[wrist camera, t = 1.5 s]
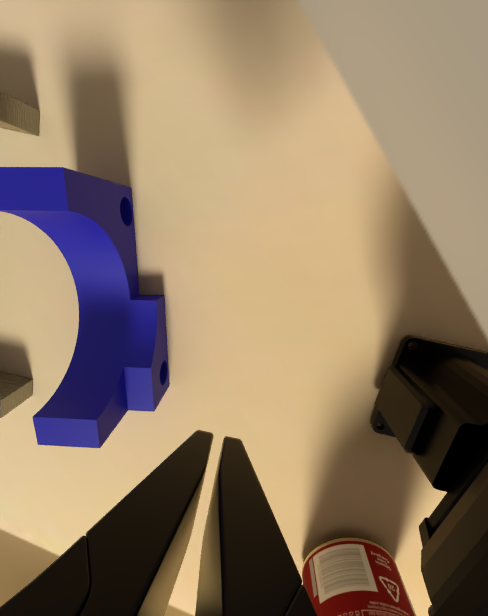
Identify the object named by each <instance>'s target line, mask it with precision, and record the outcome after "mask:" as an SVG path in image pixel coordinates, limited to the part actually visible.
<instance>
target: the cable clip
mask: <svg viewBox="0 0 488 616" xmlns="http://www.w3.org/2000/svg"><path fill="white" fill-rule="evenodd" d="M0 211H3V212H7V213H11V214H14V215H17V216H19V217H22V218H24V219H26V220H28V221H30V222H31V223H33V224H34V225H36V226H37V227H39V228H40V229H41V230H42V231H44V232H45V233H46V234H47V235H48V236H49V237H50V238H51V239H52V240H53V241H54V243H55V244H56V245H57V246H58V248H59V249H60V251H61V252H62V254H63V256H64V257H65V259H66V261H67V263H68V265H69V267H70V270H71V272H72V275H73V278H74V281H75V285H76V290H77V295H78V302H79V329H78V337H77V342H76V347H75V350H74V354H73V357H72V360H71V363H70V365H69V368H68V370H67V372H66V374H65V376H64V378H63V380H62V382H61V384H60V385H59V387H58V389H57V390H56V392H55V393H54V395H53V396H52V397H51V398H50V400H49V401H48V402H47V403H46V404H45V405H44V406H43V408H42V409H41V410H40V411H39V412H37V413H36V414H35V415H34V416H33V422H34V427H35V432H36V437H37V442H38V445H54V446H71V447H89V448H100V447H101V446H102V445H103V443H104V442H105V441H106V439H107V438H108V437H109V435H110V434H111V432H112V431H113V430H114V428H115V427H116V426H117V424H118V423H119V422H120V420H121V419H122V418H123V416H124V415H125V413H126V412H127V411H128V410H135V411H155V409H156V407H157V406H158V404H159V402H160V401H161V399H162V397H163V396H164V394H165V392H166V390H167V389H168V387H169V370H168V353H167V335H166V317H165V299H164V295H140V292H139V280H138V267H137V254H136V241H135V229H134V216H133V203H132V190H131V188H130V187H127V186H124V185H120V184H117V183H114V182H110V181H107V180H103V179H100V178H97V177H93V176H90V175H87V174H83V173H80V172H77V171H73V170H70V169H67V168H63V167H0Z"/></svg>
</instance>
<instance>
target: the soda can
mask: <svg viewBox="0 0 488 616" xmlns="http://www.w3.org/2000/svg"><path fill="white" fill-rule="evenodd" d="M302 578H303V585H304V586H305V588H306V590H307V592H308V595H309V597H310V599H311V602H312V604H313V606H314V609H315V611H316V613H317V615H318V616H416V614H415V611H414V609H413V606H412V604H411V601H410V599H409V596H408V593H407V591H406V588H405V586H404V583H403V581H402V578H401V576H400V573H399V571H398V568H397V566H396V563H395V561H394V559H393V558H392V556H391V555H390V554H389V553H388V552H387V551H386V550H385V549H384V548H382V547H381V546H379V545H378V544H376V543H374V542H371V541H369V540H365V539H360V538H350V537H348V538H338V539H333V540H330V541H327V542H325V543H323V544H321V545H319V546H318V547H316V548H315V549H314V550H312V551H311V552H310V554H309V555H308V556H307V558H306V559H305V562H304V564H303V568H302Z"/></svg>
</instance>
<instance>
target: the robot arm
mask: <svg viewBox="0 0 488 616" xmlns="http://www.w3.org/2000/svg"><path fill="white" fill-rule="evenodd" d="M411 342H414V345H413V346H412V347H408V345H409V343H411ZM375 404H376V408H375V411H374V414H373V416H372V419H371V422H370V424H371V426H372V428H373V430H374V431H375V432H377V433H380V434H384V435H389V436H393V437H396V438H397V439H398V441H399V442H400V444H401V446H402V447H403V449H404V450H405V452H406V453H409V454H412V455H413V457H414V458H415V460H416V461H417V463H418V464H419V466H420V468H421V469H422V471H423V472H424V474H425V475H426V477H427V478H428V480H429V481H430V483H431V484H432V486H433V487H434V488H435V489H437V490H442V491H446V492H447V494H446V495H445V496H444V498H443V499H442V500H441V502H440V503H439V505H438V506H437V507H436V509H435V510H434V511H433V513H432V514H431V515H430V517H429V518H425V519H424V520H423V521H422V523H421V524H420V525H419V531H420V536H421V541H422V546H423V549H422V550H421V572H422V575H423V578H424V582H425V585H426V588H427V591H428V595H429V598H430V601H431V603H432V605H431V606H430V607H429V609H428V614H429V616H488V352H484V351H480V350H475V349H471V348H466V347H462V346H457V345H453V344H448V343H444V342H440V341H435V340H431V339H426V338H422V337H417V336H413V335H409V336H406V337H404V338H403V339H402V341H401V343H400V346H399V348H398V351H397V354H396V356H395V359H394V361H393V364H392V366H391V367H390V368H389V369H388V370H387V373H386V375H385V378H384V381H383V383H382V386H381V389H380V391H379V394H378V397H377V399H376V402H375ZM379 423H382V425H380V426H377V425H378V424H379ZM212 441H213V434H212V433H210V432H206V431H201V430H197V431H196V432H195V433H194V434H192V435H191V436H190V437H189V438H188V439H187V440H186V441H185V442H184V443H183V444H182V445H181V446H179V447H178V448H177V449H176V450H175V451H174V452H173V453H172V454H171V455H170V456H169V457H168V458H167V459H165V460H164V461H163V462H162V463H161V464H160V465H159V466H158V467H157V468H156V469H155V470H154V471H152V472H151V473H150V474H149V475H148V476H147V477H146V478H145V479H144V480H143V481H142V482H141V483H139V484H138V485H137V486H136V487H135V488H134V489H133V490H132V491H131V492H130V493H129V494H128V495H126V496H125V497H124V498H123V499H122V500H121V501H120V502H119V503H118V504H117V505H116V506H115V507H113V508H112V509H111V510H110V511H109V512H108V513H107V514H106V515H105V516H104V517H103V518H102V519H100V520H99V521H98V522H97V523H96V524H95V525H94V526H93V527H92V528H91V529H90V530H89V531H88V532H87V533H86V536H82V537H81V538H80V539H79V540H77V541H76V542H75V543H74V544H73V545H72V546H71V547H70V548H69V549H68V550H67V551H66V552H65V553H63V554H62V555H61V556H60V557H59V558H58V559H57V560H56V561H54V562H53V563H52V564H51V565H50V566H49V567H48V568H46V570H44V571H43V572H42V573H41V574H40V575H39V576H37V577H36V578H35V579H34V580H33V581H32V582H31V583H29V584H28V585H27V586H26V587H25V588H23V589H22V590H21V591H20V592H18V593H17V594H16V595H15V596H13V597H12V598H11V599H10V600H8V601H7V602H6V603H5V604H3V605H2V606H1V607H0V616H164V614H165V611H166V608H167V605H168V602H169V599H170V596H171V593H172V590H173V588H174V585H175V582H176V579H177V576H178V573H179V570H180V567H181V564H182V561H183V558H184V556H185V553H186V550H187V546H188V543H189V540H190V536H191V533H192V529H193V525H194V520H195V516H196V512H197V507H198V503H199V499H200V494H201V490H202V485H203V481H204V477H205V472H206V468H207V464H208V459H209V454H210V450H211V445H212ZM301 584H302V579H301V577H300V574H299V572H298V570H297V567H296V565H295V563H294V561H293V558H292V556H291V554H290V551H289V549H288V547H287V544H286V542H285V540H284V537H283V535H282V533H281V531H280V528H279V526H278V524H277V521H276V519H275V517H274V514H273V512H272V510H271V508H270V505H269V503H268V501H267V498H266V496H265V494H264V491H263V489H262V487H261V485H260V482H259V480H258V478H257V475H256V473H255V471H254V468H253V466H252V464H251V461H250V459H249V457H248V455H247V452H246V450H245V448H244V445H243V443H242V441H241V440H240V439H237V438H233V437H228V436H226V437H225V438H224V440H223V444H222V448H221V453H220V457H219V461H218V466H217V471H216V475H215V480H214V485H213V490H212V495H211V500H210V505H209V510H208V515H207V520H206V525H205V530H204V536H203V542H202V550H201V560H200V571H199V581H198V592H197V603H196V613H195V616H318V615H317V613H316V611H315V609H314V606H313V604H312V602H311V599H310V597H309V595H308V592H307V590H306V588H305V586H304V585H301Z"/></svg>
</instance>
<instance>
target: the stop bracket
mask: <svg viewBox="0 0 488 616" xmlns="http://www.w3.org/2000/svg"><path fill="white" fill-rule="evenodd" d="M0 128H5V129H9V130H14V131H18V132H23V133H27V134H32V135H36V136H39V111H38V110H37V109H35V108H33V107H31V106H29V105H27V104H25V103H23V102H21V101H19V100H17V99H15V98H13V97H12V96H10V95H8V94H6V93H4V92H2V91H0ZM32 387H33V380H32V379H28V378H23V377H19V376H14V375H10V374H5V373H1V372H0V418H2V417H3V416H4V415H6V414H7V413H9V412H10V411H11V410H13V409H14V408H15V407H17V406H18V405H20V404H21V403H22V402H24V401H25V400H26V399H28V398H29V397H31V396H32Z"/></svg>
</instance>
